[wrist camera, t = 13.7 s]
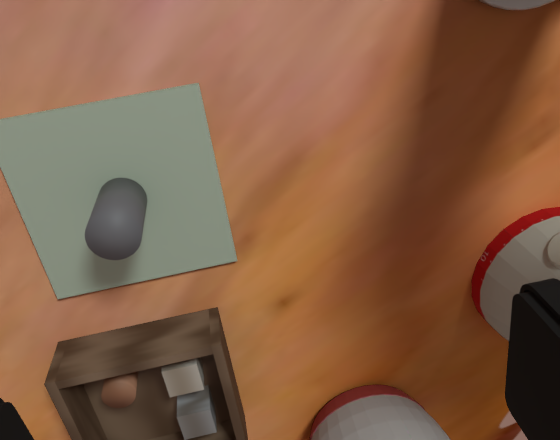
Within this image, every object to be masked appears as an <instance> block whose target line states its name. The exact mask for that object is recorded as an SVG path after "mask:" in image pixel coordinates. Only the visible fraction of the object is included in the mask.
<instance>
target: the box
mask: <svg viewBox="0 0 560 440" xmlns="http://www.w3.org/2000/svg"><path fill="white" fill-rule="evenodd" d="M44 385H45V387H46V389H47V391H48V393H49V395H50V397H51V399H52V401H53V403H54V405H55V407H56V409H57V411H58V413H59V415H60V417H61V419H62V421H63V423H64V425H65V427H66V429H67V431H68V433H69V435H70V437H71V439H72V440H248V437H247V429H246V422H245V415H244V411H243V407H242V403H241V399H240V395H239V391H238V387H237V383H236V379H235V375H234V371H233V367H232V363H231V359H230V355H229V351H228V347H227V343H226V339H225V335H224V331H223V327H222V323H221V319H220V315H219V311H218V307H217V308H212V309H208V310H203V311H198V312H194V313H189V314H185V315H180V316H176V317H171V318H166V319H162V320H157V321H153V322H148V323H144V324H139V325H134V326H130V327H125V328H121V329H116V330H111V331H107V332H102V333H98V334H93V335H89V336H84V337H79V338H75V339H70V340H66V341H61V342H58V344H57V347H56V351H55V354H54V357H53V360H52V363H51V366H50V369H49V372H48V375H47V378H46V381H45V384H44Z"/></svg>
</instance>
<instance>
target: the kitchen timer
mask: <svg viewBox="0 0 560 440" xmlns="http://www.w3.org/2000/svg"><path fill="white" fill-rule="evenodd" d="M551 278H555V279H558V280H560V207H555V208H547V209H541V210H539V211H536V212H534V213H531V214H528V215H526V216H523V217H521V218H520V219H518V220H517V221H515V222H514V223H512V224H511V225H509V226H508V227H506V228H505V229H503V230H502V231H501V232H500V233H499V234H498V235H497V236H496V237H495V239H494V240H493V241H492V242H491V243H490V244H489V245H488V246H487V248H486V249H485V251H484V252H483V254H482V256H481V257H480V259H479V260H478V262H477V265H476V268H475V271H474V274H473V278H472V298H473V301H474V303H475V306H476V309H477V311H478V312H479V313H480V314H481V315H482V317H483V318H484V319H485V320H486V321H487V322H488V323H489V324H490V325H491V326H492V327H493V328H494V329H495V330H496V331H497V332H498V333H499V334H500V335H501V336H503V337H504V338H505V339H507V340H508V341H509V336H510V323H511V310H512V299H513V296H514V295H515V294H519V292H520V288H521V287H522V285H524V284H528V283H532V282H537V281H542V280H547V279H551Z"/></svg>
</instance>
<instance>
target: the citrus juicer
mask: <svg viewBox="0 0 560 440" xmlns="http://www.w3.org/2000/svg"><path fill="white" fill-rule="evenodd" d="M309 440H450V438H449V437H448V435H447V434H446V433H445V432H444V431H443V429H442V428H441V427H440V426H439V424H438V423H437V422H436V421H435V420H434V419H433V418H432V417H431V416H430V415H429V414H428V413H427V412H426V411H425V410H424V408H423V407H422V406H421V405H420V404H419V403H417V402H416V401H415V400H414V399H412V398H411V397H410V396H408V395H407V394H406V393H404V392H403V391H401V390H399V389H397V388H394V387H390V386H386V385H367V386H362V387H358V388H354V389H351V390H349V391H346V392H344V393H342V394H340V395H339V396H337V397H335V398H334V399H332V400H331V401H330V402H329V403H327V404H326V405H325V406H324V407H323V408H322V410H321V411H320V412H319V413H318V415H317V417H316V418H315V420H314V423H313V425H312V429H311V434H310V439H309Z"/></svg>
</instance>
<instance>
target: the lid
mask: <svg viewBox="0 0 560 440" xmlns="http://www.w3.org/2000/svg"><path fill="white" fill-rule="evenodd" d="M0 167H1V170H2V172H3V174H4V177H5V179H6V181H7V184H8V186H9V188H10V190H11V193H12V195H13V197H14V200H15V202H16V204H17V207H18V209H19V211H20V213H21V216H22V218H23V220H24V223H25V225H26V227H27V230H28V232H29V234H30V236H31V239H32V241H33V243H34V246H35V248H36V250H37V253H38V255H39V257H40V260H41V262H42V264H43V266H44V269H45V271H46V273H47V276H48V278H49V280H50V283H51V285H52V287H53V289H54V292H55V294H56V296H57V299H62V298H66V297H71V296H76V295H80V294H85V293H90V292H94V291H99V290H104V289H108V288H113V287H118V286H122V285H127V284H132V283H136V282H141V281H146V280H150V279H155V278H160V277H164V276H169V275H174V274H178V273H183V272H188V271H192V270H197V269H202V268H206V267H211V266H216V265H220V264H225V263H230V262H234V261H237V257H236V252H235V247H234V243H233V238H232V234H231V229H230V225H229V220H228V215H227V211H226V206H225V202H224V197H223V192H222V188H221V183H220V179H219V174H218V169H217V165H216V160H215V156H214V151H213V147H212V142H211V137H210V133H209V128H208V124H207V119H206V114H205V110H204V105H203V101H202V96H201V92H200V87H199V83H194V84H188V85H183V86H177V87H172V88H167V89H161V90H156V91H150V92H145V93H139V94H134V95H128V96H123V97H117V98H112V99H107V100H101V101H96V102H90V103H85V104H79V105H74V106H68V107H63V108H57V109H52V110H46V111H41V112H36V113H30V114H25V115H19V116H14V117H8V118H3V119H0Z"/></svg>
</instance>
